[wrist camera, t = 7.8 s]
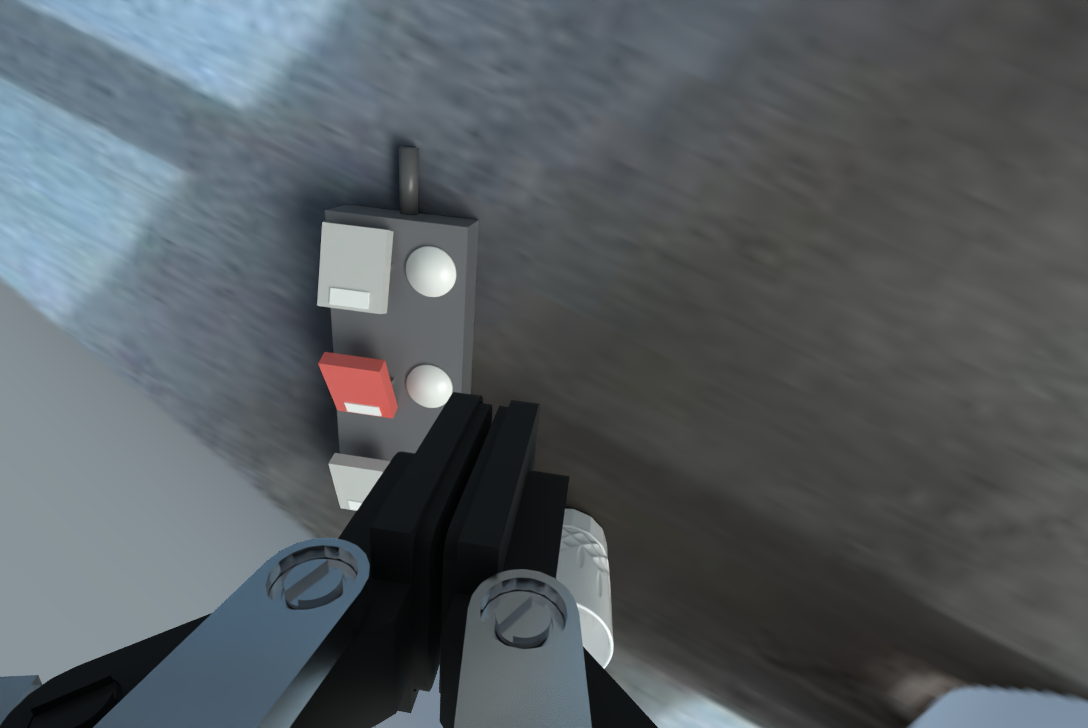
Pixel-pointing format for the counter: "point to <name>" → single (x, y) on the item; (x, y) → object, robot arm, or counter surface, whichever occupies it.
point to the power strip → (411, 318)
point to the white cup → (588, 581)
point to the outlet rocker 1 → (354, 268)
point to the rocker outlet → (354, 478)
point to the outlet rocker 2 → (359, 384)
